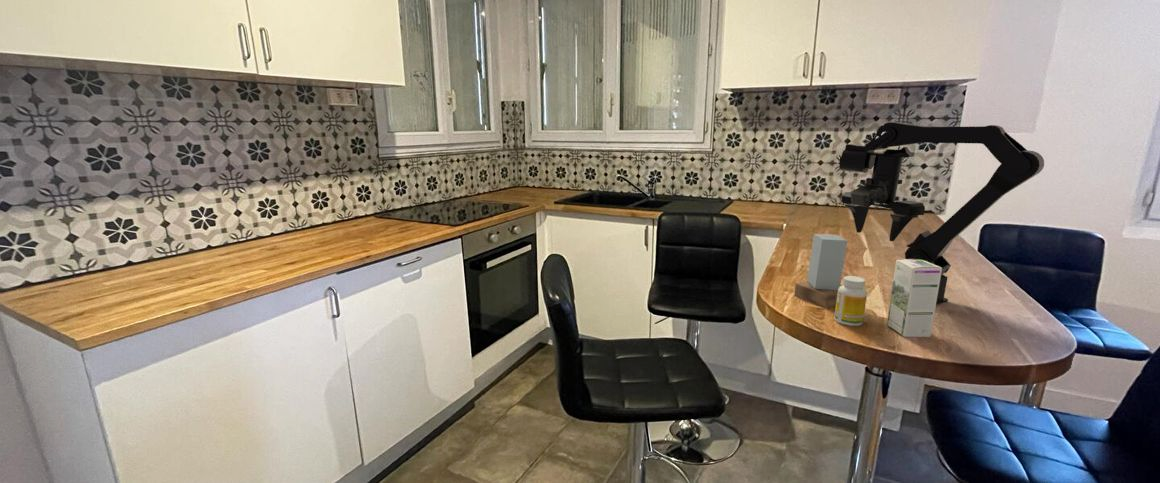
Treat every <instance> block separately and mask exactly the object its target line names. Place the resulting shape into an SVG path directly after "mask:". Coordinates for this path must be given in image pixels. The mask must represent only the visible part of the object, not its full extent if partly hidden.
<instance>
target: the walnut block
mask: <svg viewBox="0 0 1160 483" xmlns="http://www.w3.org/2000/svg"><path fill="white" fill-rule="evenodd" d="M840 286H843V284H842V285H841V284H840ZM837 294H838V290H826V289H814V288H813V287H812V286H811V285H810V284H809V283H808V282H807V281H802V282H796V283H795V286H794V294H793V295H794V297H797V298H800V299H802V300H804V301H805V300H806V301H808V302H810V303H813V304H815V305H817V306H819V307H822V308H825V309H827V308H831V307H836V301H837Z"/></svg>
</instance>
